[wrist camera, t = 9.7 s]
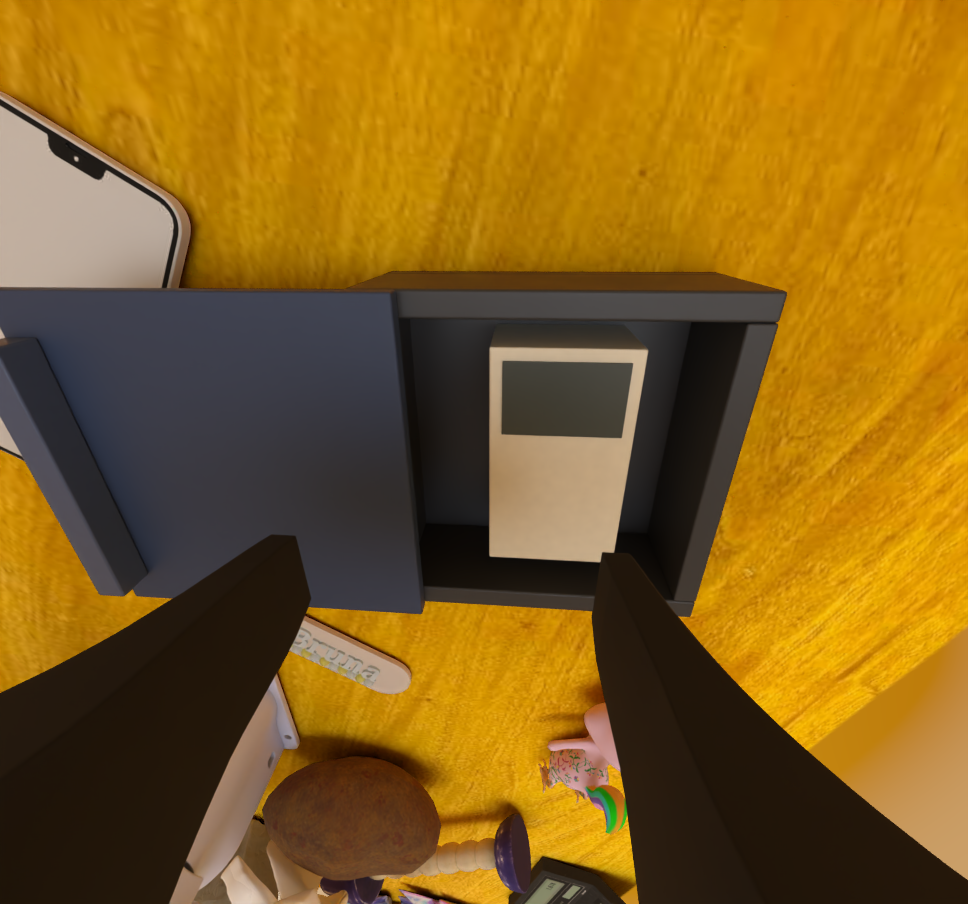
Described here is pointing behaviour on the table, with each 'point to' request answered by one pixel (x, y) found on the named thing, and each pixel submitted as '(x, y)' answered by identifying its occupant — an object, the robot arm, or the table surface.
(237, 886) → the figurine
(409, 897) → the decorative blades
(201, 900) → the mineral specimen
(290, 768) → the table surface
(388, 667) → the keychain
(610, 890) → the calculator
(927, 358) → the table surface
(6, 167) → the smartphone
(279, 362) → the cover
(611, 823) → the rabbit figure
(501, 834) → the purple dumbbell
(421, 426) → the charcoal case
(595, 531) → the cream block
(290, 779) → the potato
